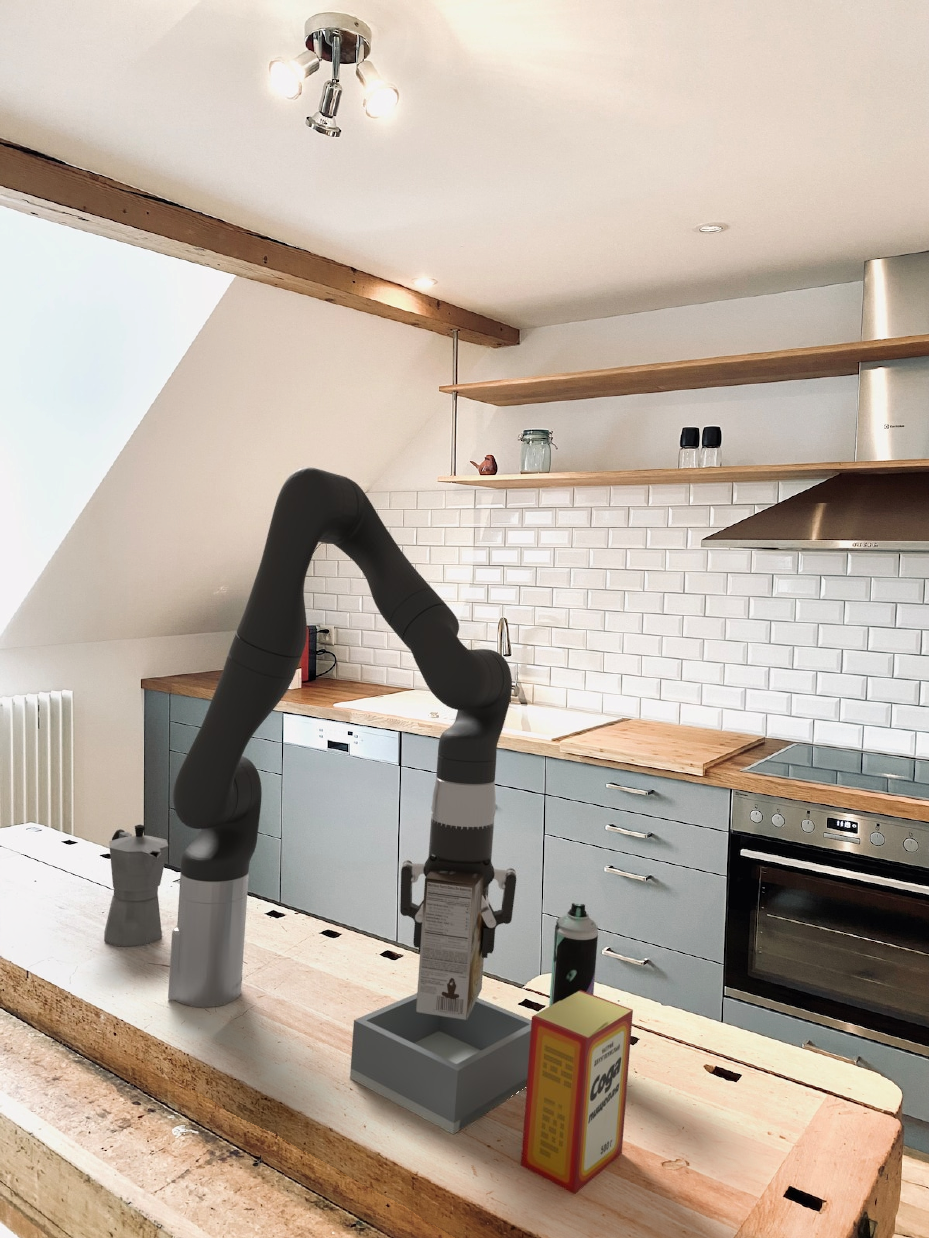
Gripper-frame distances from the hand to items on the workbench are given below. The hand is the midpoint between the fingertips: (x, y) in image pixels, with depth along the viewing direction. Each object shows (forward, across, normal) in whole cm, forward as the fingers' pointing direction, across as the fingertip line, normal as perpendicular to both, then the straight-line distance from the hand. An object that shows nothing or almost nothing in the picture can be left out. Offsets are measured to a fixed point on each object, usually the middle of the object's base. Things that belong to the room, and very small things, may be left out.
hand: (453, 952), depth 113 cm
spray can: (+16, +15, +8) cm, 23 cm away
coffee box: (+6, 0, 0) cm, 6 cm away
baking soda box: (+16, +14, -14) cm, 25 cm away
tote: (+15, 0, 0) cm, 15 cm away
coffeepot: (+16, -52, +37) cm, 66 cm away
